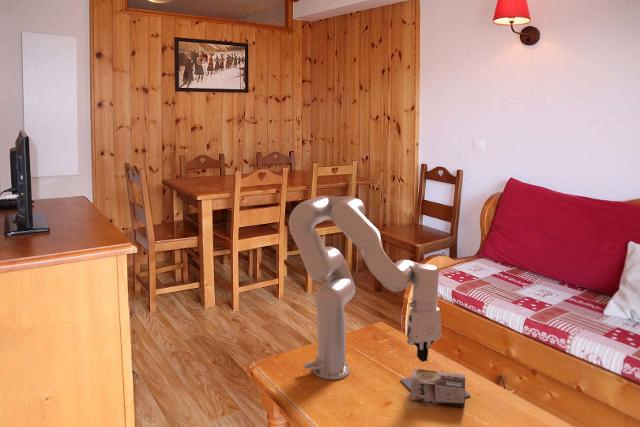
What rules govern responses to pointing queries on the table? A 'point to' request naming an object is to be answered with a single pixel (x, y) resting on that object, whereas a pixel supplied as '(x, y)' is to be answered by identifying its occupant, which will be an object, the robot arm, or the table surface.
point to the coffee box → (438, 387)
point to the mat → (408, 384)
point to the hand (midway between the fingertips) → (422, 359)
